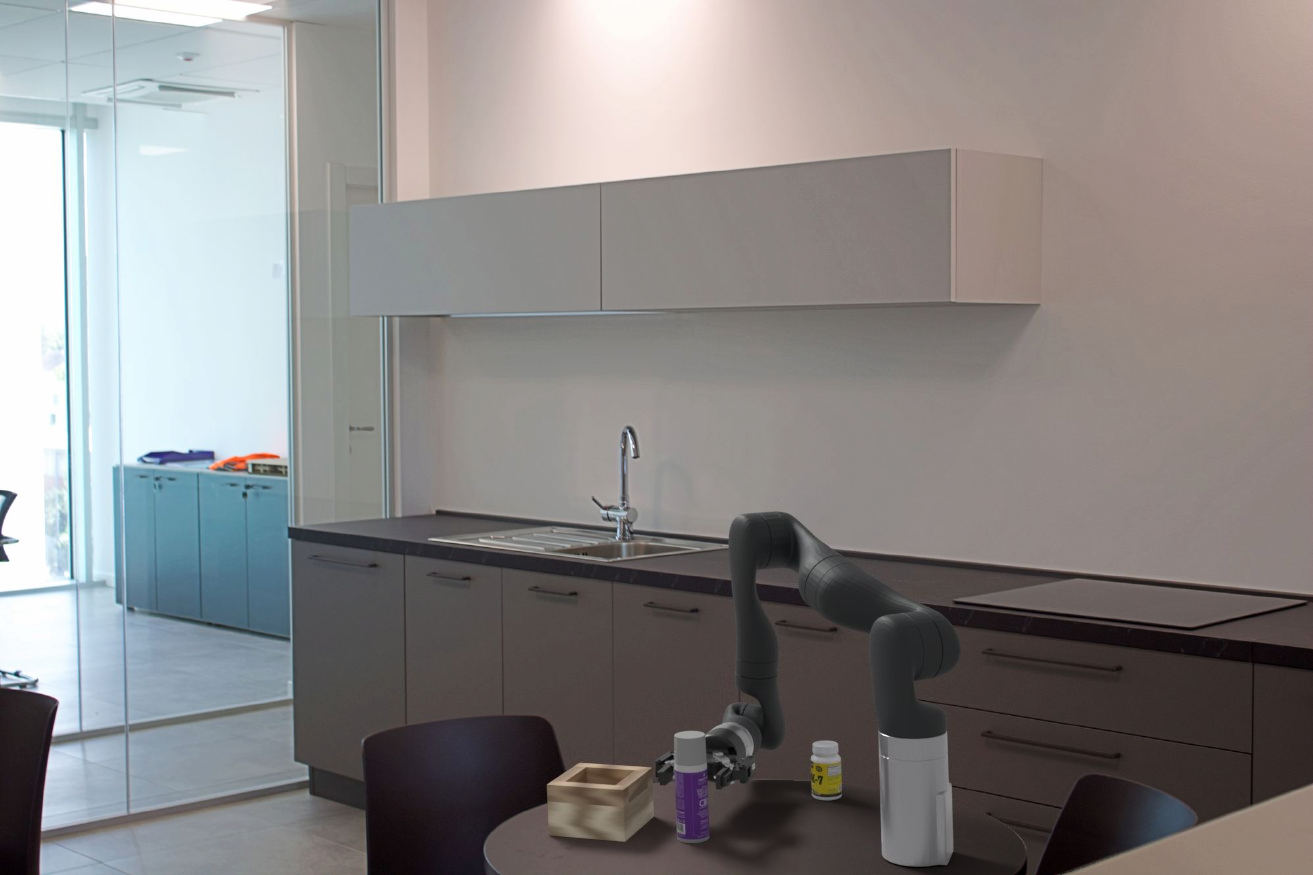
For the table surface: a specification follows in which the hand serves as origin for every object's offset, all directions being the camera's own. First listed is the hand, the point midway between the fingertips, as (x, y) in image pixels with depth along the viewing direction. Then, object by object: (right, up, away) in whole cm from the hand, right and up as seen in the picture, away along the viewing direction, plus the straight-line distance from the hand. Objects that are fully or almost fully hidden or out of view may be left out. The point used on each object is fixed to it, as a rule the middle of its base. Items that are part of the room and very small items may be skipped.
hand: (689, 780), depth 198 cm
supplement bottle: (+22, -7, +19) cm, 30 cm away
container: (+1, -9, +1) cm, 9 cm away
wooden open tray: (-13, -9, +8) cm, 17 cm away
